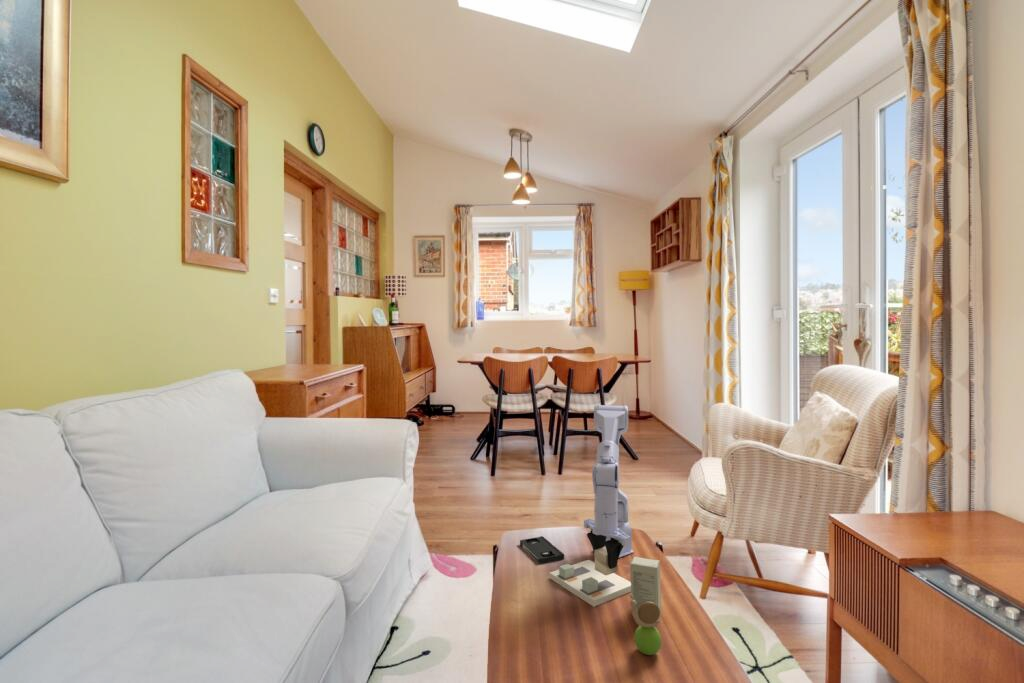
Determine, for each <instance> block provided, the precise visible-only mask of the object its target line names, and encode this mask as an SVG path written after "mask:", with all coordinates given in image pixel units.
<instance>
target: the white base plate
mask: <svg viewBox="0 0 1024 683" xmlns="http://www.w3.org/2000/svg"><path fill="white" fill-rule="evenodd" d="M570 565H571V564H570ZM571 566H573V567H574V576H571V577H569V578H566V579H565V578H563V577H561V576H560V575H559V569H556V570H555V571H551V572H549V579H550V580H551V581H553V582H555V583H556V584H558V585H559V586H561V587H562V588H564V589H565V590H567V591H569V592H570V593H572V594H573V595H575V596H576V597H578V598H580V599H581V600H583V601H584V602H585V603H587V604H589V605H590V606H591V607H594V608H595V607H597V606H600V605H602V604H604V603H607V602H609V601H612V600H613V599H616V598H619V597H621V596H623V595H626V594H628V593H631V580H627V579H626V578H624V577H622V576H620V575H618V574H616V572H614V573H612V574H609V575H604V574H602V573H600V572H598V571H597V570H595V561H592V560H591V559H586V560H583V561H580V562H577V563H575V564H572V565H571ZM590 577H592V578H594V579H596V580H597V581H598V590H597V591H594V592H592V593H587V592H586V591H584V590H582V580H584V579H587V578H590Z"/></svg>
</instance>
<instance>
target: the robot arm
mask: <svg viewBox="0 0 1024 683" xmlns="http://www.w3.org/2000/svg"><path fill="white" fill-rule="evenodd" d="M593 408H594V409H593V423H594V426H595V429H596V431H597V432H598V433H601V441H600V442H599V443H598V444H597V448H596V455H595V456H596V457H595V458H596V459H595V464H593V465H592V473H591V474H592V478H591V479H592V485H593V493H594V508H593V509H594V510H593V512H594V513H593V514H594V515H593V516H594V519H592V518H587V519H584V520H583V527H584V528H585V529H590V532H587V533H586V537H587V539H588V540H589V542H590V545H591V547H592V551H593V554H594V556H595V550H596V549H599V548H602V547H606V550H607V555H608V566H609V568H610V569H612V568H615V567H616V566H617V567H618V562H619V558H622V557H625V556H628V555H630V554H633V553H634V552H635V551H634V550H633V544H632V543H633V542H632V541H633V539H632V538H633V536H632V535H633V534H632V533H633V532H632V527H631V524H630V523H629V497H628V496H627V494H625V493H624V492H623V491H622V490H621V489H620V487H619V486H620V439H621V436H622V435H623V434H625V433H627V432H628V429H629V407H628V405H627V404H625V405H610V404H609V405H606V404H605V405H604V404H602V405H601V404H596V405H595V406H594V407H593Z"/></svg>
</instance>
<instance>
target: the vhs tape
mask: <svg viewBox="0 0 1024 683" xmlns="http://www.w3.org/2000/svg"><path fill="white" fill-rule="evenodd" d="M519 547H521V548H522V549H523V550H524V551H525V552H526V553H527V554H529V556H530V557H531V558H533V560H535V561H536V562H537V563H538V565H542V564H547V563H553V562H558V561H563V560H565V553H564V552H562V551H561V550H560V549H558V548H557V547H556V546H555V545H553V544H552V543H551V542H550V541H549V540H548V539H547V538H546V537H544V536H538V537H531V538H525V539H520V540H519Z"/></svg>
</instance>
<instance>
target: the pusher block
mask: <svg viewBox="0 0 1024 683" xmlns="http://www.w3.org/2000/svg"><path fill="white" fill-rule="evenodd" d="M594 563H595V570H597V571H598V572H600V573H602V574H604V575H609V574H612V573H616V572H617V573H618V565H617V566H616V567H615V568H612V569H610V568H609V566H608V555H607V550H606V547H602V548H599V549H596V550H595V555H594Z"/></svg>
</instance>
